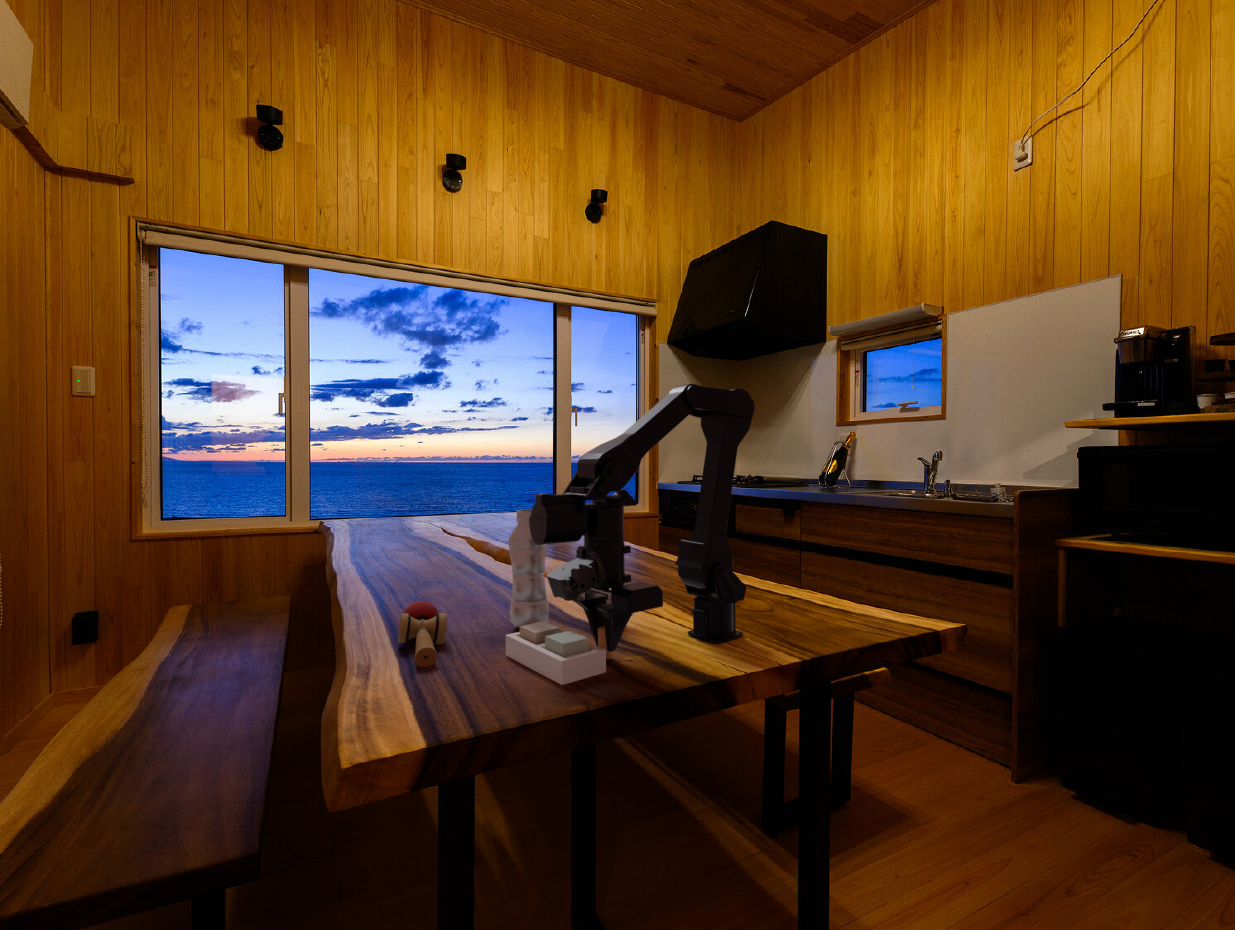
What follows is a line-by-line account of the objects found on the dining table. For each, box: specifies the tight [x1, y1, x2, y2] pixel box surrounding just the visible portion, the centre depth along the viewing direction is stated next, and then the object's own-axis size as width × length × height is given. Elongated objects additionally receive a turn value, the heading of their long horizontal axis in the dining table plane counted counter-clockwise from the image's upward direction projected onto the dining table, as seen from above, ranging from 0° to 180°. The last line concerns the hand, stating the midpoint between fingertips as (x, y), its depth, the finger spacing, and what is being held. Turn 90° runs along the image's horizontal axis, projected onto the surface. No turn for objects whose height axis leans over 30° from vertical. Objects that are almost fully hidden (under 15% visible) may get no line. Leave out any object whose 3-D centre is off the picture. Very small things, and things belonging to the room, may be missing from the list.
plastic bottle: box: [507, 508, 550, 629], centre depth 101 cm, size 6×7×20 cm
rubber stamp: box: [545, 626, 615, 660], centre depth 82 cm, size 10×4×4 cm, turn 128°
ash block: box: [519, 621, 561, 645], centre depth 85 cm, size 4×4×4 cm
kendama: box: [397, 600, 448, 668], centre depth 90 cm, size 8×6×18 cm
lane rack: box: [505, 631, 607, 686], centre depth 83 cm, size 7×15×3 cm, turn 38°
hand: (605, 648), depth 84 cm, fingers closed on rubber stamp, 2 cm apart
